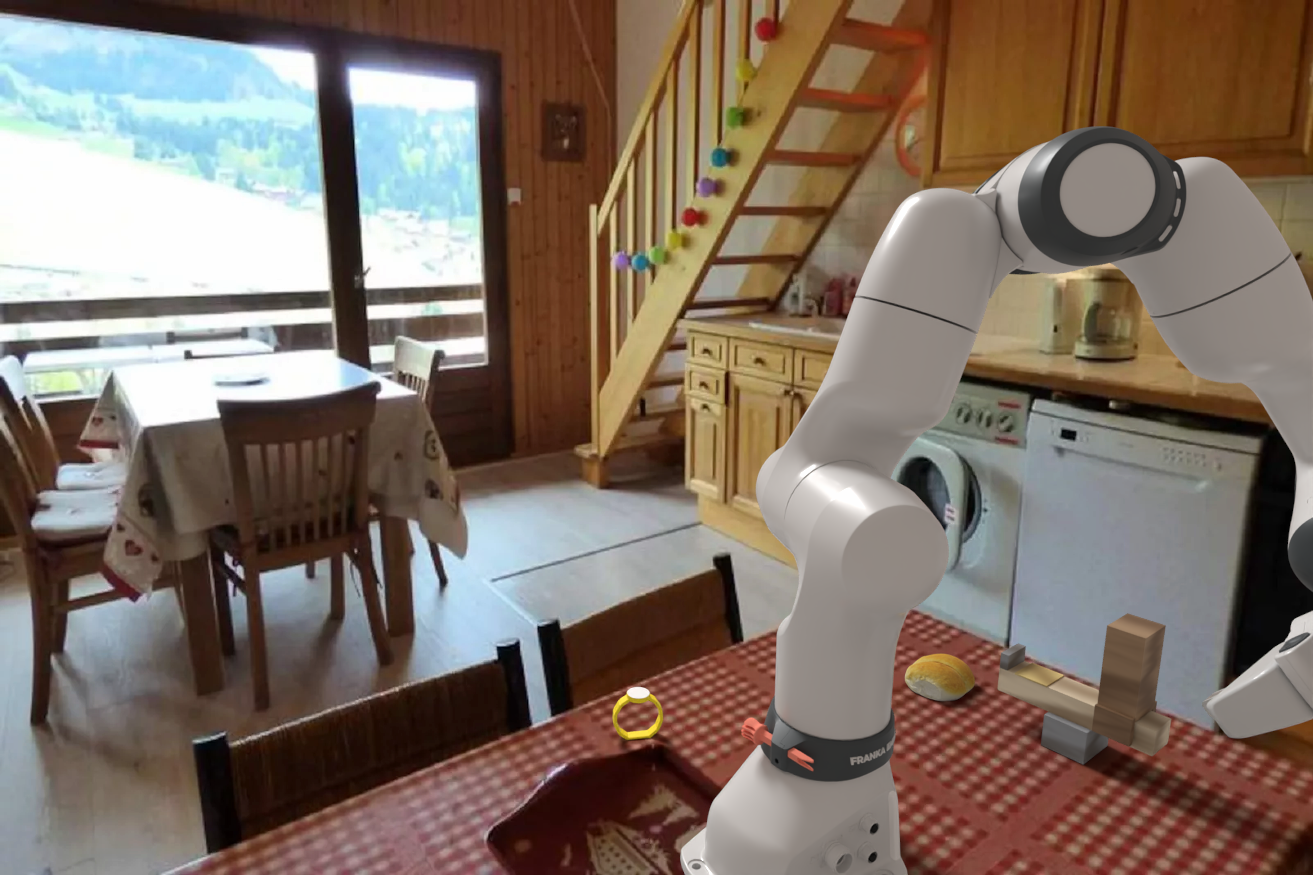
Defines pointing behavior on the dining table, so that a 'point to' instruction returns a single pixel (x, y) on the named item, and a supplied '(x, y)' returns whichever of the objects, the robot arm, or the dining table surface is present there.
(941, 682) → the bread roll
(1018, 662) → the seesaw
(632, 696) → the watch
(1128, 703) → the plate
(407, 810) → the dining table surface
